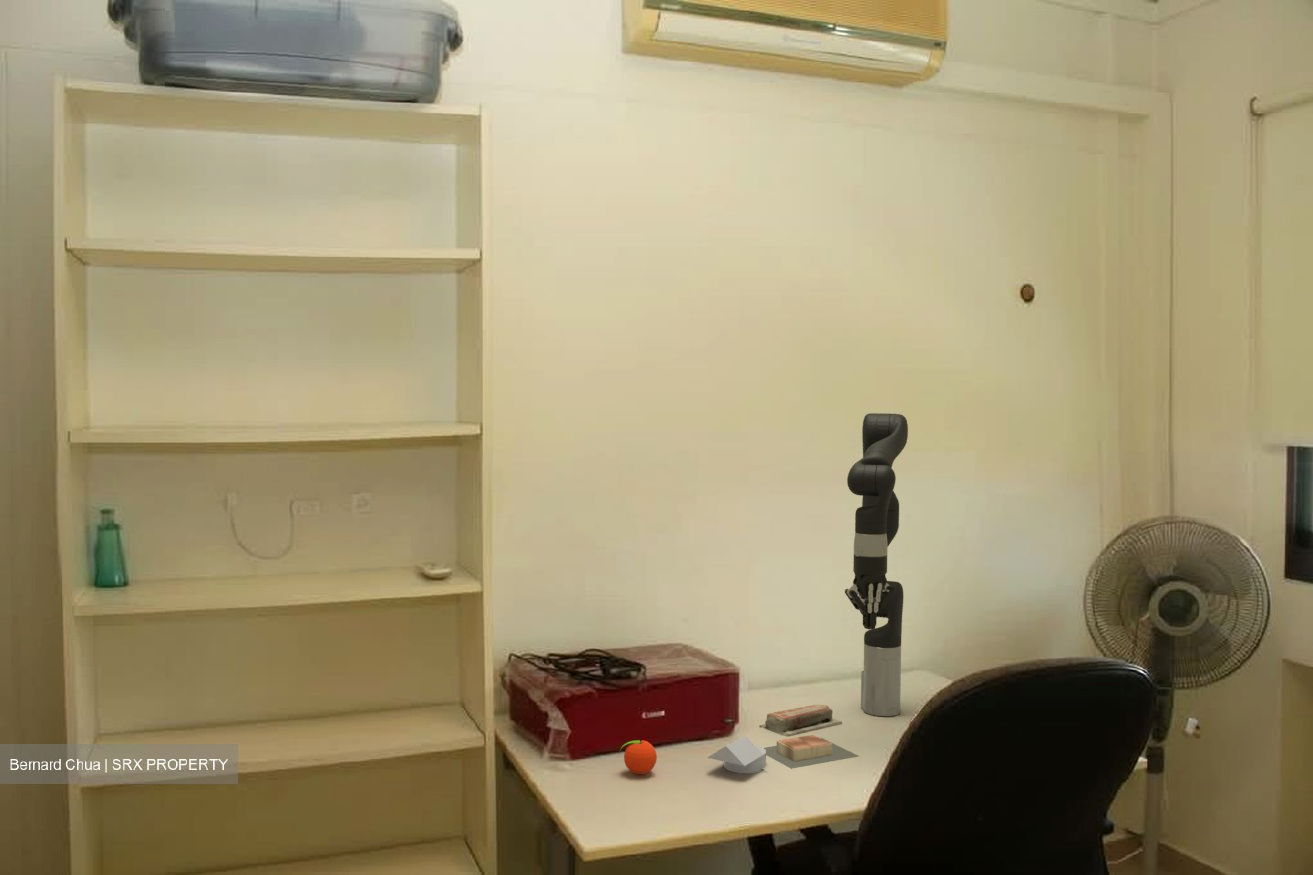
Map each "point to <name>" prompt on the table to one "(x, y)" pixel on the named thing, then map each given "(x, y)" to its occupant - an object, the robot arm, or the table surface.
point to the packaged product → (800, 720)
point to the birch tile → (804, 747)
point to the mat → (837, 754)
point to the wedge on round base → (742, 756)
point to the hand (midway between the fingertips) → (869, 628)
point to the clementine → (640, 756)
